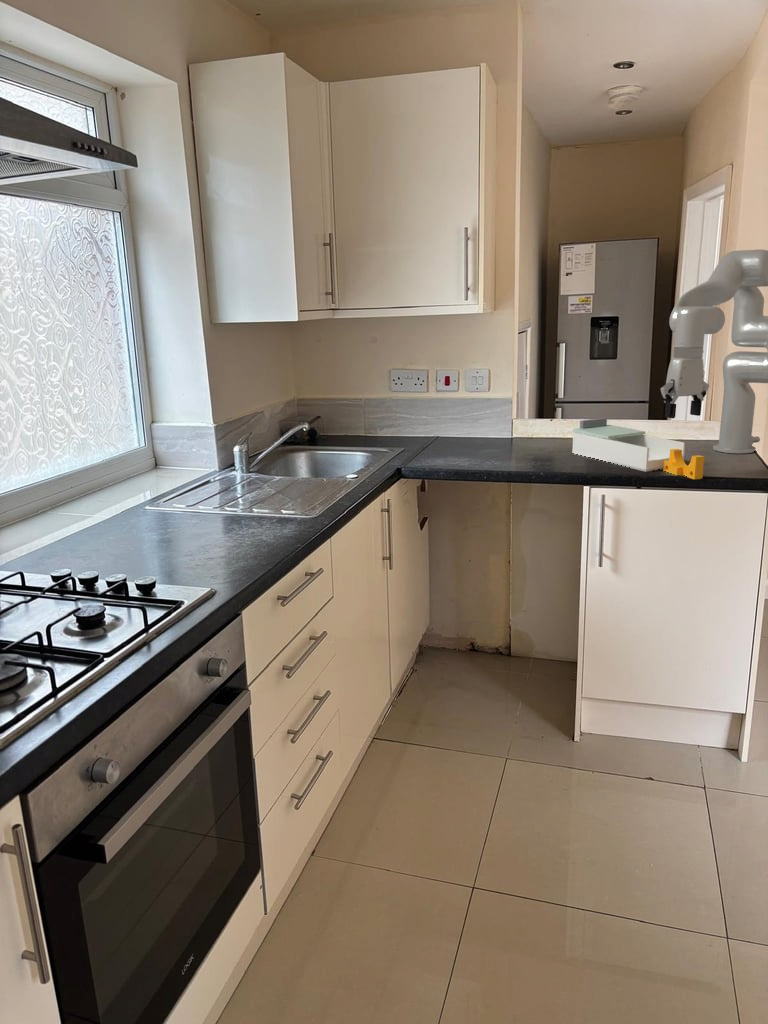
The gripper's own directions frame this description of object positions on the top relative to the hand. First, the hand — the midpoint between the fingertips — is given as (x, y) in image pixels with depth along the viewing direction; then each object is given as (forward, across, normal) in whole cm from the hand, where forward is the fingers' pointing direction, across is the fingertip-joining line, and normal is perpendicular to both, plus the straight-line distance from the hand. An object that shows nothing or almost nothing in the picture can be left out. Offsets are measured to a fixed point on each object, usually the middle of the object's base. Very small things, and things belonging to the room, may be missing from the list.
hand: (682, 416), depth 218 cm
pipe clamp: (+17, -2, 0) cm, 17 cm away
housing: (+17, -3, -24) cm, 30 cm away
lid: (+9, -3, -32) cm, 34 cm away
